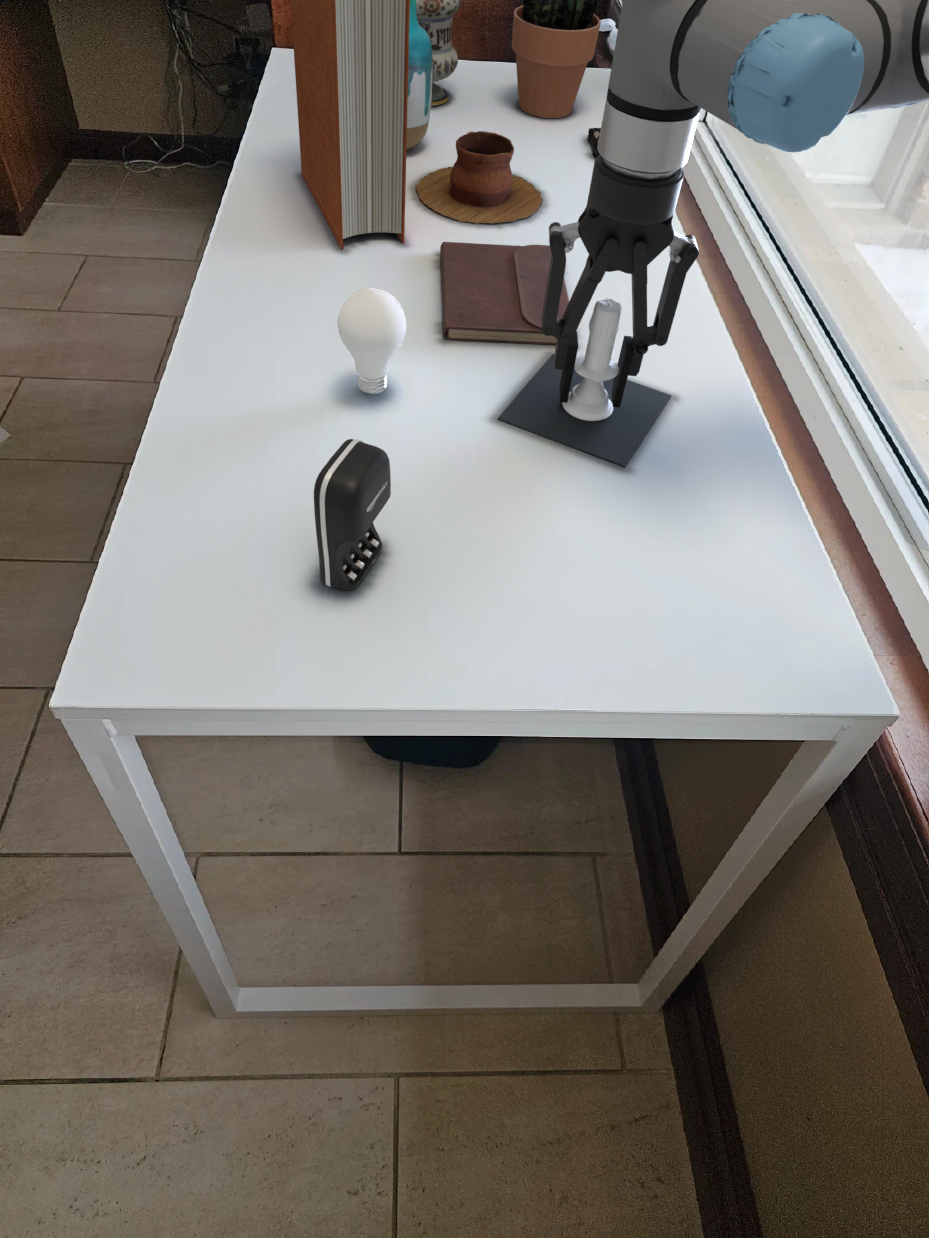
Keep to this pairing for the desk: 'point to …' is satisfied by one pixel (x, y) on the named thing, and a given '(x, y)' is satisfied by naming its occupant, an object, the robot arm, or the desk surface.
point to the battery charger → (350, 512)
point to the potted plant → (553, 53)
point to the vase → (418, 80)
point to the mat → (601, 438)
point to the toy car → (594, 139)
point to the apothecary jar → (439, 41)
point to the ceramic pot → (480, 183)
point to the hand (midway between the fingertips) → (589, 396)
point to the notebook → (496, 292)
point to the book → (353, 110)
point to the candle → (596, 365)
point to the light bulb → (372, 334)
